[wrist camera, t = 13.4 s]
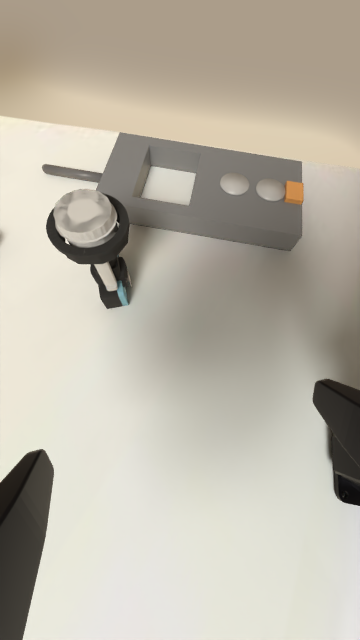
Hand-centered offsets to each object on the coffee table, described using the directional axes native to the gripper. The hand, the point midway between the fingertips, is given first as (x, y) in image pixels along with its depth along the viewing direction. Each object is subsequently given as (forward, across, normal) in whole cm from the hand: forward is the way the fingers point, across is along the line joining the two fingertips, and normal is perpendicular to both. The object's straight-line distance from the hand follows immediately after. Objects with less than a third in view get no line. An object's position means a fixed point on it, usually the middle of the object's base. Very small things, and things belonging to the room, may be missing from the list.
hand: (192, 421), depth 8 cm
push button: (+19, +3, 0) cm, 20 cm away
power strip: (+27, -4, -9) cm, 28 cm away
